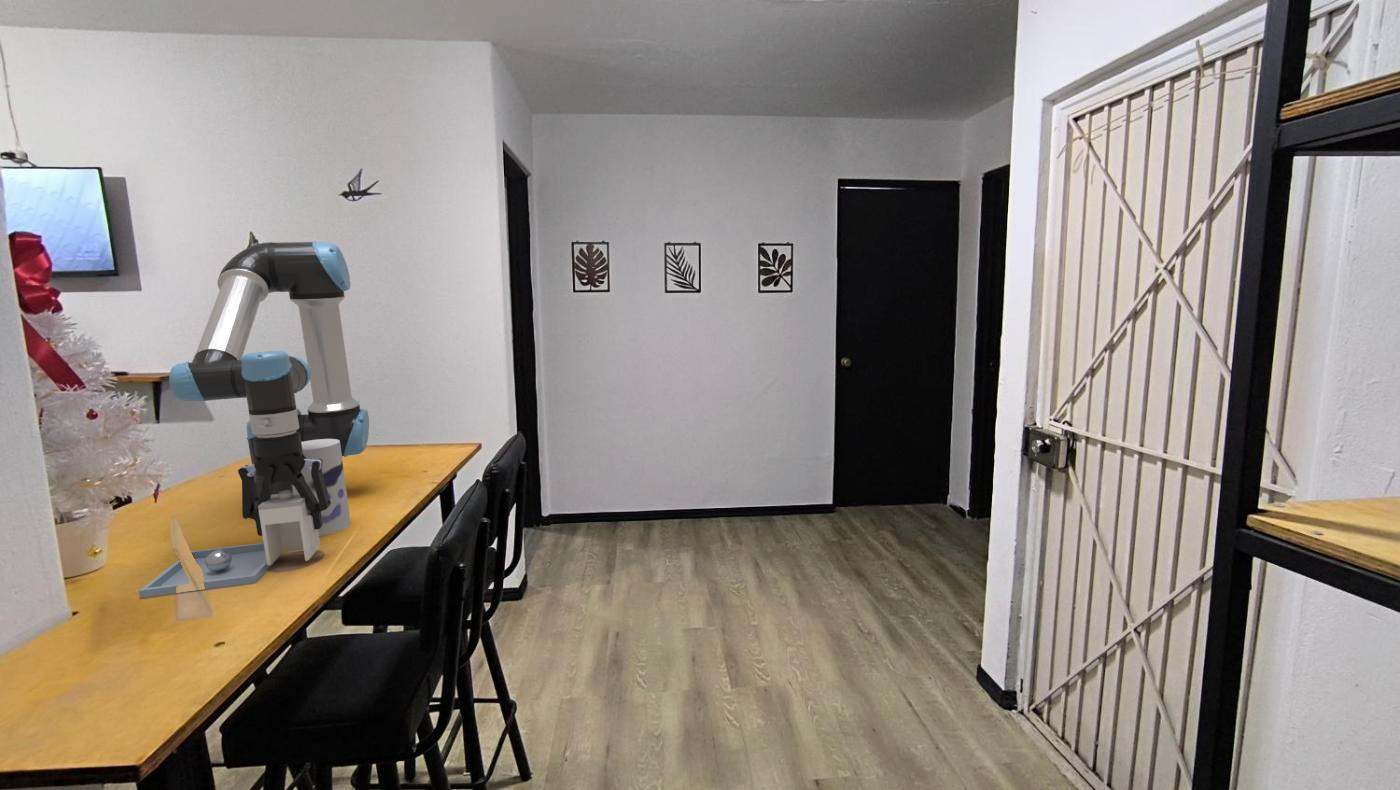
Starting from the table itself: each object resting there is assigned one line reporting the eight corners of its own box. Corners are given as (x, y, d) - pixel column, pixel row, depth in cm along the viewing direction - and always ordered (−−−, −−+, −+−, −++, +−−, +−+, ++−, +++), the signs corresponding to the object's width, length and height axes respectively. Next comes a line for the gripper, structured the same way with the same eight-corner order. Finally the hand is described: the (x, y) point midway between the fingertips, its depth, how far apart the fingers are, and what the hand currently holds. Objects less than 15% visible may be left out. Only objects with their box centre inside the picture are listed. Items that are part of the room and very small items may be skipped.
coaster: (276, 556, 127) (275, 554, 127) (331, 549, 130) (330, 547, 130) (256, 578, 118) (255, 575, 118) (316, 570, 121) (315, 567, 120)
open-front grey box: (280, 551, 126) (271, 488, 124) (319, 546, 128) (311, 484, 126) (267, 565, 119) (256, 499, 117) (308, 560, 121) (299, 495, 119)
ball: (212, 568, 122) (209, 548, 121) (236, 565, 123) (233, 545, 122) (203, 577, 118) (199, 556, 117) (227, 573, 119) (224, 553, 118)
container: (327, 540, 135) (315, 449, 132) (288, 537, 137) (274, 448, 134) (360, 523, 145) (350, 438, 142) (323, 521, 147) (312, 437, 144)
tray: (191, 560, 127) (189, 551, 127) (290, 548, 131) (288, 539, 131) (140, 601, 110) (138, 590, 110) (256, 586, 115) (254, 575, 114)
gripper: (205, 442, 113) (225, 562, 117) (329, 432, 119) (344, 547, 123) (224, 433, 121) (242, 547, 125) (340, 424, 126) (354, 533, 130)
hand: (293, 547), depth 124 cm, fingers closed on open-front grey box, 7 cm apart
